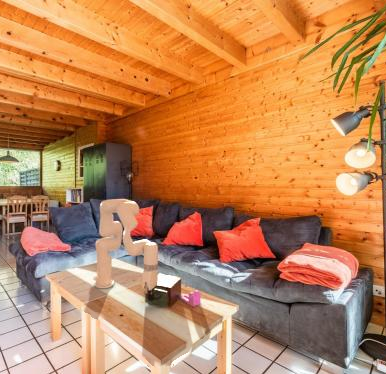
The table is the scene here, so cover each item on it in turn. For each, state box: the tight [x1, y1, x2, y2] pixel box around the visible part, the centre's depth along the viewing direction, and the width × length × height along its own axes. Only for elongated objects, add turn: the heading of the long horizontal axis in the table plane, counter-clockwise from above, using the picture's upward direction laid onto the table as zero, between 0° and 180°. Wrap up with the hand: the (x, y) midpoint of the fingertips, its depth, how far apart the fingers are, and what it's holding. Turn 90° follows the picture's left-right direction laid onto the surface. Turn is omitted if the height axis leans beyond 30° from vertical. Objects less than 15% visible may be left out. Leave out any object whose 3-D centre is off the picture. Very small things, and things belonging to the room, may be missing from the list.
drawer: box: [144, 287, 170, 309], centre depth 146 cm, size 19×13×9 cm
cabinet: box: [156, 273, 182, 307], centre depth 152 cm, size 16×15×11 cm
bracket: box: [179, 290, 201, 307], centre depth 149 cm, size 13×6×7 cm, turn 35°
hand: (150, 300), depth 137 cm, fingers closed
